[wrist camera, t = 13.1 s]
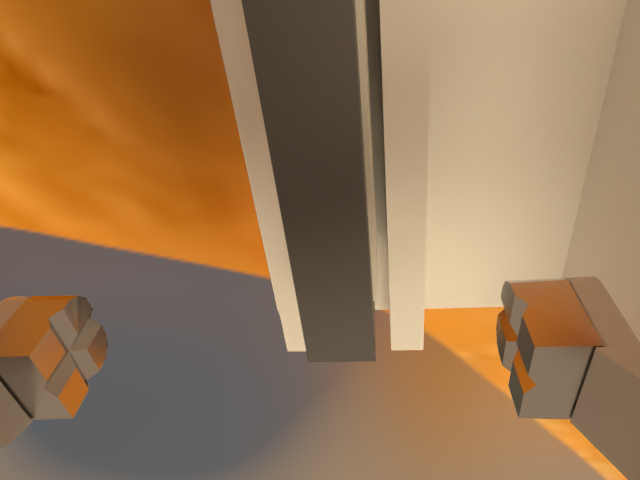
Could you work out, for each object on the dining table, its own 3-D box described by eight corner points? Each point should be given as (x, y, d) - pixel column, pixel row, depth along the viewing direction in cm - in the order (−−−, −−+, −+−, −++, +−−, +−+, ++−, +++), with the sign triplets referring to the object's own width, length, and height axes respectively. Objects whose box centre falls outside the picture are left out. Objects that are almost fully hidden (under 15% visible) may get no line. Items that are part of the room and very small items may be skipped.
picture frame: (276, -95, 16) (214, -96, 10) (360, -107, 16) (355, -116, 9) (320, 239, 24) (302, 361, 18) (377, 236, 24) (380, 361, 17)
